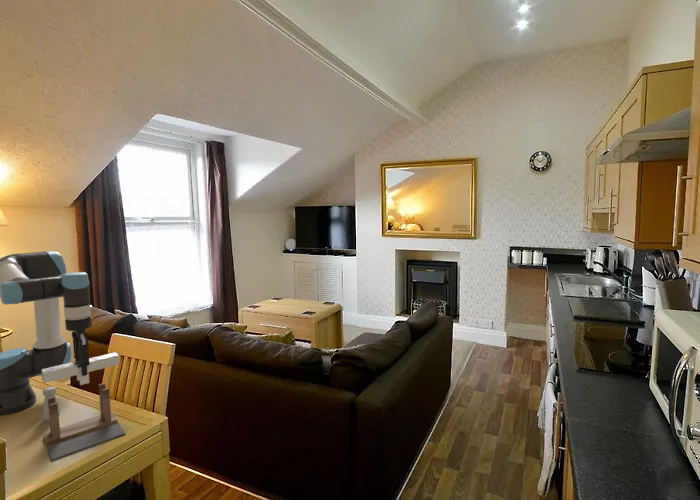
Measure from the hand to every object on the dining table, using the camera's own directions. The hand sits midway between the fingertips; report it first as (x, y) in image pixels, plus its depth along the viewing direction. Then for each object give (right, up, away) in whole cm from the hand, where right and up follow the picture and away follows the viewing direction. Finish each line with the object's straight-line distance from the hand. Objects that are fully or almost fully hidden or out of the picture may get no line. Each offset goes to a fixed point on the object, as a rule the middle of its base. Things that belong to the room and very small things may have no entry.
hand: (83, 381), depth 138 cm
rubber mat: (0, -22, +3) cm, 23 cm away
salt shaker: (-24, -21, +17) cm, 36 cm away
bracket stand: (-7, -22, +10) cm, 25 cm away
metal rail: (0, +4, 0) cm, 4 cm away
